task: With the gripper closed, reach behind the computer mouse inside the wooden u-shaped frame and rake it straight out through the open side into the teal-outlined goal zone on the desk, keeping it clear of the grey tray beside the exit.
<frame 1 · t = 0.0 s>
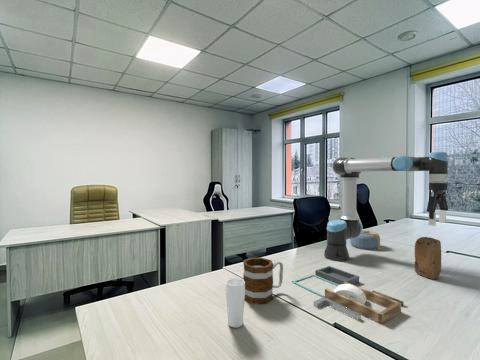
hand: (437, 224, 128), 28 cm above the table, fingers open, 13 cm apart
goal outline: (318, 285, 120), on the table
block: (426, 276, 132), on the table
wooden u-shaped frame: (360, 304, 102), on the table
grey tray: (336, 278, 128), on the table
walnut dowel: (386, 300, 106), on the table
computer mouse: (349, 300, 107), on the table
grey l-shaped bar: (340, 310, 98), on the table
mug: (263, 295, 110), on the table
drinking glass: (235, 324, 89), on the table
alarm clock: (364, 246, 187), on the table
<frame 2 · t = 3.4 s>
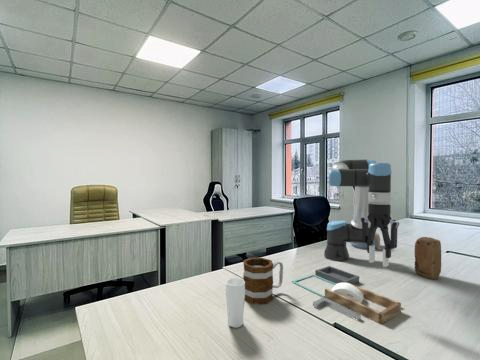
hand: (378, 263, 96), 19 cm above the table, fingers open, 4 cm apart
walnut dowel: (383, 297, 105), point 2 cm above the table, tilted 165°
computer mouse: (346, 298, 108), on the table
everything else where it was.
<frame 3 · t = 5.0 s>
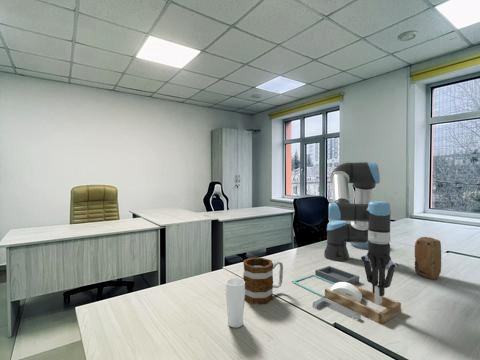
hand: (378, 303, 96), 4 cm above the table, fingers closed
walnut dowel: (380, 302, 103), on the table, tilted 55°
everything else where it was.
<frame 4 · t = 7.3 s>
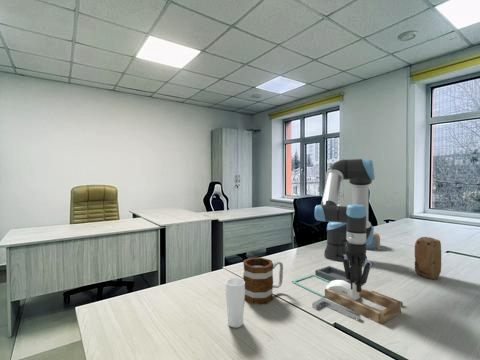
hand: (355, 298, 104), 1 cm above the table, fingers closed
walnut dowel: (386, 299, 106), on the table, tilted 49°
computer mouse: (341, 295, 110), on the table, touching gripper
everything else where it was.
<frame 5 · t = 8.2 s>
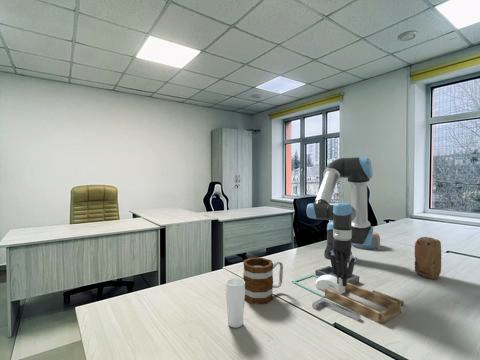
hand: (341, 292, 110), 2 cm above the table, fingers closed
walnut dowel: (386, 300, 106), on the table, tilted 19°
computer mouse: (329, 289, 116), on the table, touching wooden u-shaped frame, gripper
everything else where it was.
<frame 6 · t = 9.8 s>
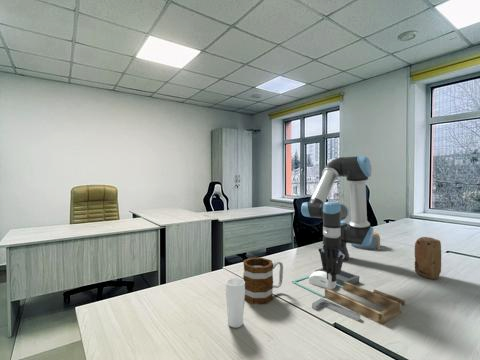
hand: (331, 287, 114), 2 cm above the table, fingers closed
walnut dowel: (387, 297, 107), point 1 cm above the table, tilted 90°
computer mouse: (322, 285, 121), on the table
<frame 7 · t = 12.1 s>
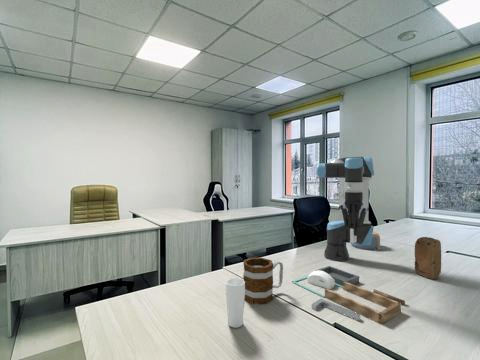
hand: (353, 242, 116), 22 cm above the table, fingers closed
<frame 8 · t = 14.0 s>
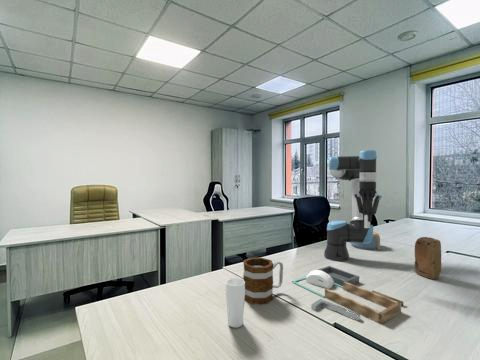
hand: (367, 227, 126), 26 cm above the table, fingers closed
walnut dowel: (386, 300, 106), on the table, tilted 11°
at the end: computer mouse inside the target area (3.1 cm from its centre), on the table; computer mouse touching table; computer mouse moved 17.8 cm from its start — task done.
